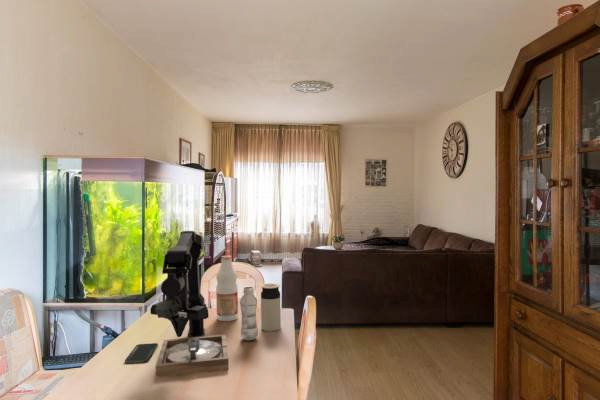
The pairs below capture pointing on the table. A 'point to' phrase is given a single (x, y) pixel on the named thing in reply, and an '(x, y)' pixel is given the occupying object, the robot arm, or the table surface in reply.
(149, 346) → the phone
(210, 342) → the dial
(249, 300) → the plastic bottle
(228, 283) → the fruit juice
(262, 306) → the travel mug
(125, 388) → the table surface
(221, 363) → the square wooden tray
